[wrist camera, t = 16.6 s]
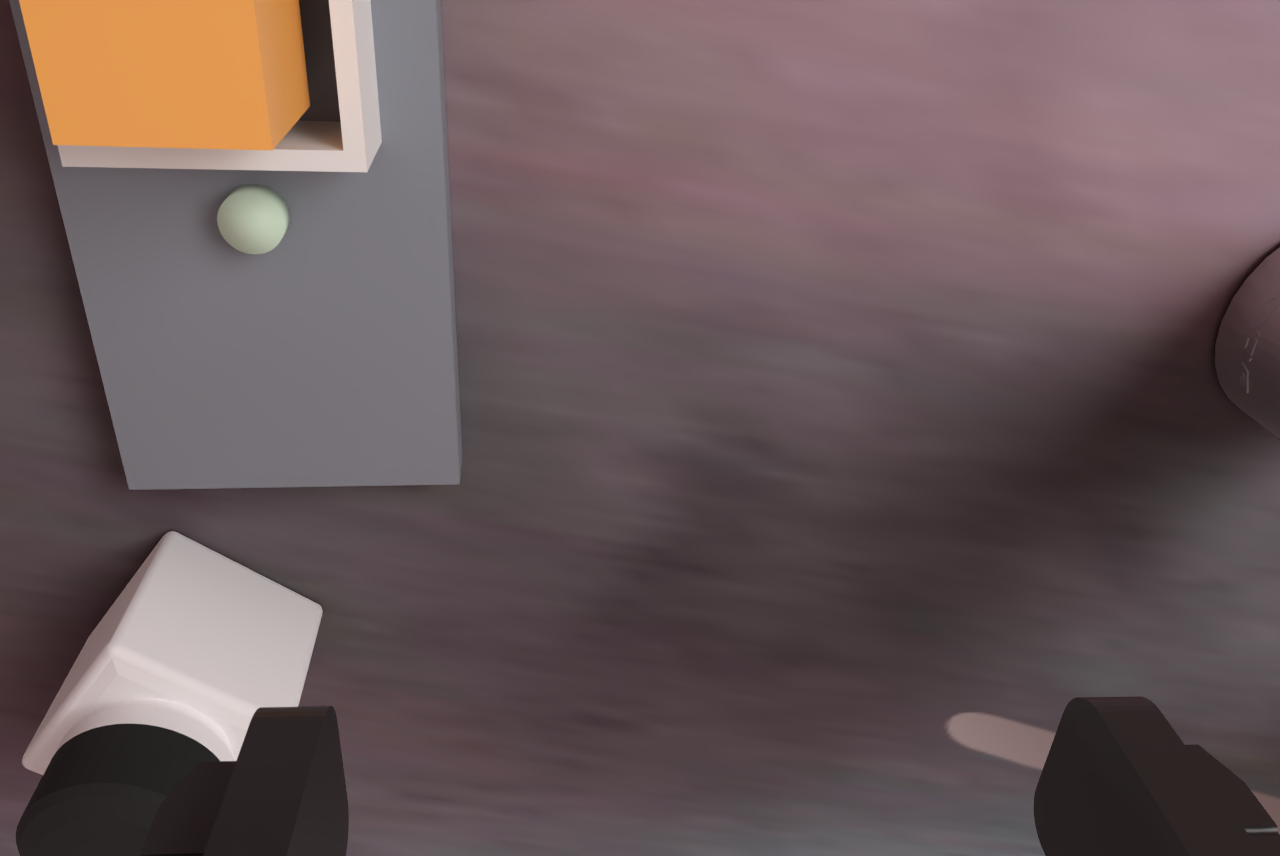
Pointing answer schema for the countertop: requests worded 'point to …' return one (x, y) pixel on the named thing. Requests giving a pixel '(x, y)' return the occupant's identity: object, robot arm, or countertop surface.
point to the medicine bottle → (161, 696)
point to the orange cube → (169, 71)
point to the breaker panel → (282, 276)
